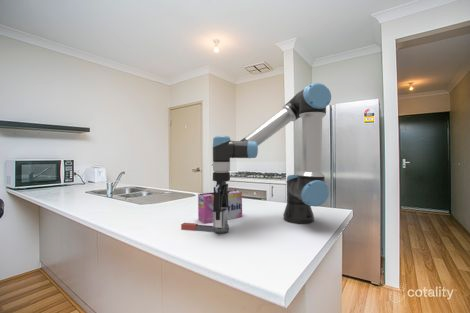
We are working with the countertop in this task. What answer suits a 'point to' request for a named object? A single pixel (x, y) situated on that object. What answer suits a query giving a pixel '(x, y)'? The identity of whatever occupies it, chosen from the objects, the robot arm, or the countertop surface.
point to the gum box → (207, 206)
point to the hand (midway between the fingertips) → (221, 224)
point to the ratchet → (204, 228)
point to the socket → (224, 217)
